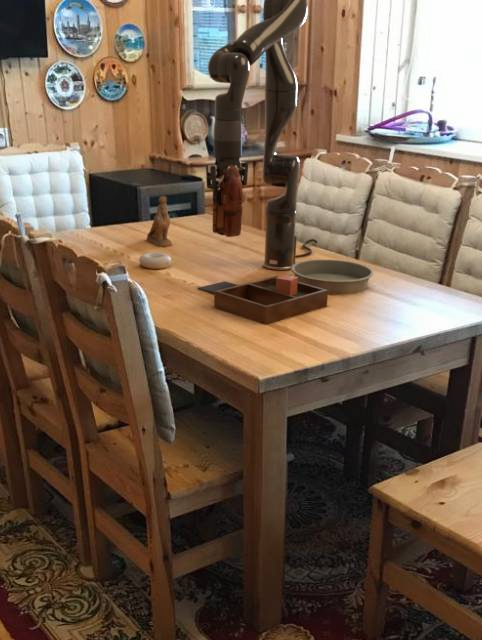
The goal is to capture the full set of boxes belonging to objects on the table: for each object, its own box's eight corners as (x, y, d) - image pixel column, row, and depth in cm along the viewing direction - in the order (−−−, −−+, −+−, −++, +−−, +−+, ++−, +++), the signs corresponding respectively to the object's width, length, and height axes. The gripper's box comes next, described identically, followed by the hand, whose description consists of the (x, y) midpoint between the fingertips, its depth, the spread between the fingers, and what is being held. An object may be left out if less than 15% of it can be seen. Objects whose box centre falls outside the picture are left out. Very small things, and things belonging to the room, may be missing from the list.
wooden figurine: (206, 229, 230) (205, 161, 221) (225, 227, 233) (226, 160, 224) (226, 238, 222) (226, 167, 212) (246, 236, 224) (248, 166, 215)
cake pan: (273, 282, 244) (273, 267, 242) (325, 269, 260) (326, 255, 258) (337, 301, 230) (339, 285, 228) (388, 286, 246) (390, 270, 244)
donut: (135, 268, 252) (166, 271, 251) (134, 257, 251) (165, 259, 249) (145, 261, 261) (175, 263, 259) (144, 250, 259) (175, 252, 257)
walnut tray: (276, 291, 236) (276, 275, 234) (327, 306, 225) (328, 289, 223) (213, 307, 220) (214, 290, 218) (265, 324, 209) (266, 307, 207)
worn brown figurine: (171, 252, 282) (175, 201, 270) (156, 253, 280) (160, 201, 268) (159, 238, 290) (163, 187, 278) (145, 238, 287) (148, 187, 276)
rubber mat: (225, 282, 242) (225, 281, 242) (251, 290, 236) (251, 289, 236) (197, 289, 235) (197, 287, 235) (224, 297, 229) (224, 295, 228)
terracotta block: (282, 290, 228) (283, 274, 226) (297, 293, 226) (298, 277, 224) (275, 294, 224) (276, 277, 222) (289, 297, 222) (290, 280, 220)
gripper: (218, 141, 208) (217, 209, 217) (256, 138, 218) (254, 203, 226) (198, 138, 213) (198, 204, 221) (236, 135, 222) (235, 199, 230)
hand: (226, 203), depth 223 cm, fingers closed on wooden figurine, 6 cm apart
